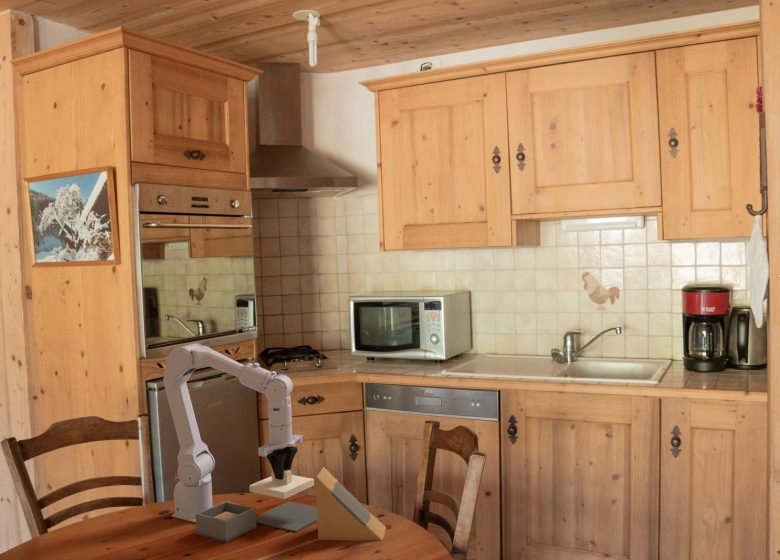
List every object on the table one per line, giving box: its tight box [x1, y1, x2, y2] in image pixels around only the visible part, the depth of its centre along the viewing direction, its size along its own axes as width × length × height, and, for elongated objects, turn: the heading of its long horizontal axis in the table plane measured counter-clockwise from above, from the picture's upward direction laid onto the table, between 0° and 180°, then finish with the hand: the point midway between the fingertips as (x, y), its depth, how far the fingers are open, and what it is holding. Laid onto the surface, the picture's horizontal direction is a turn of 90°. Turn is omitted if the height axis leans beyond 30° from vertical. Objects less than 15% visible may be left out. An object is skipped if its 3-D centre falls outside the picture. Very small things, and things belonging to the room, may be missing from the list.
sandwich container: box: [315, 466, 387, 541], centre depth 167 cm, size 9×15×15 cm, turn 85°
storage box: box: [195, 500, 257, 543], centre depth 170 cm, size 10×10×5 cm
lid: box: [248, 469, 315, 500], centre depth 177 cm, size 11×11×5 cm
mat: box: [256, 500, 318, 533], centre depth 178 cm, size 15×15×1 cm
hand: (282, 477), depth 177 cm, fingers closed on lid, 2 cm apart
